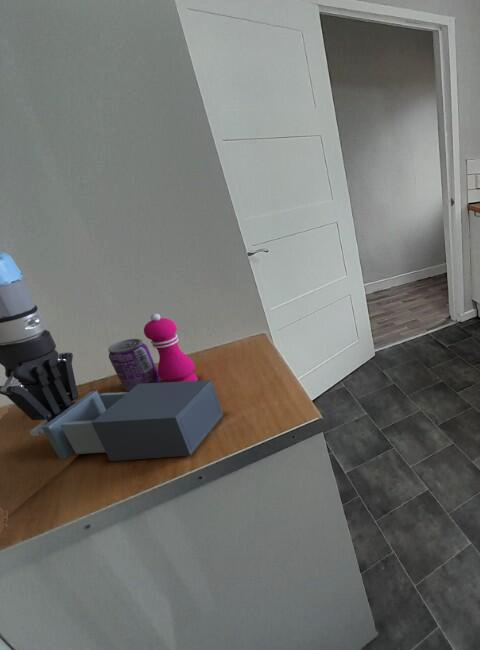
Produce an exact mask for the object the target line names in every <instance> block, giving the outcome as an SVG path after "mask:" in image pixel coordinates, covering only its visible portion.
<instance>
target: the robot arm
mask: <svg viewBox="0 0 480 650" xmlns="http://www.w3.org/2000/svg"><path fill="white" fill-rule="evenodd" d="M56 348H57V344H56V342H55V340H54V338H53V336H52V334H51V332H50V330H47V324H46V323H45V320H44V318H43V317H42V314H41V312H40V311H39V308H38V306H37V305H36V302H35V300H34V298H33V296H32V294H31V292H30V290H29V287H28V285H27V283H26V281H25V278H24V274H23V272H22V271H21V270H20V269H19V267H18V266H17V264H16V262H15V260H14V259H13V258H12V256H11V255H10V254H8V253H6V252H3V251H0V365H1V366H3V367H4V375H5V377H6V378H7V379H6V381H5V382H4V384H3V385H0V395H3V396H5V397H7V398H8V399H9V400H10V401H11V402H12V403H13V404H14V405H15V406H16V407H17V408H19V409H20V411H22V412H23V413H24V414H25V415H26V416H27V417H28V418H29V419H30V420H32V421H45V420H47V421H48V422H50V421H51V420H53V419H54V418H55V417H57V416H58V415H59V414H61V413H62V412H63V411H65V410H66V409H68V408H69V407H70V406H72V405H73V404H74V403H75V402H74V400H77V399H78V398H79V391H78V387H77V383H76V379H75V374H74V367H73V358H74V357H73V356H74V355H73V353H72V352H58V351H57V350H56Z"/></svg>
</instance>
